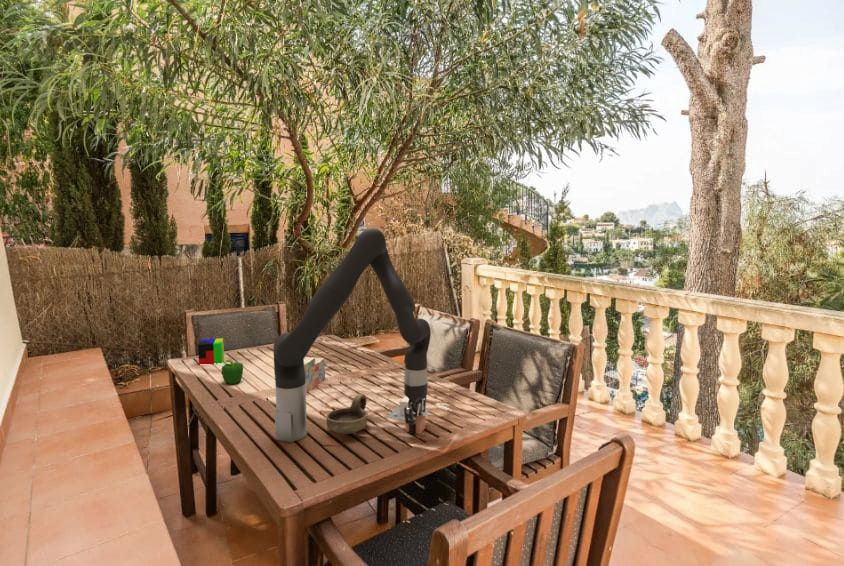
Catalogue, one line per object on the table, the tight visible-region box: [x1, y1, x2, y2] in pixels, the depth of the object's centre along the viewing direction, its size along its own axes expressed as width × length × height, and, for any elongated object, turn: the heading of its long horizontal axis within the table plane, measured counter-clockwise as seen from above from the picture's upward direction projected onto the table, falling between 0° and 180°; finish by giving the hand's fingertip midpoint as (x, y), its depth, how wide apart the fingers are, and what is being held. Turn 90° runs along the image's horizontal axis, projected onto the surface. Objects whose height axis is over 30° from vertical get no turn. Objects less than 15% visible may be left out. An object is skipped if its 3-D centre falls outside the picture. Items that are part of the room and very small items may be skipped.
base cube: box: [399, 395, 415, 416], centre depth 165 cm, size 5×5×5 cm
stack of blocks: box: [304, 356, 326, 394], centre depth 193 cm, size 21×6×12 cm, turn 167°
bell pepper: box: [221, 359, 244, 385], centre depth 197 cm, size 8×8×10 cm
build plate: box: [386, 404, 431, 421], centre depth 166 cm, size 12×12×2 cm
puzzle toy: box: [197, 337, 225, 365], centre depth 226 cm, size 10×10×10 cm
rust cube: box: [405, 415, 427, 435], centre depth 153 cm, size 5×5×5 cm
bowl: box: [325, 393, 369, 435], centre depth 154 cm, size 14×18×10 cm
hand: (415, 430), depth 153 cm, fingers closed on rust cube, 5 cm apart
